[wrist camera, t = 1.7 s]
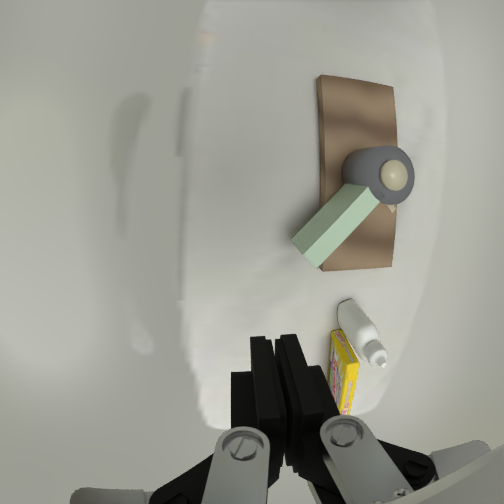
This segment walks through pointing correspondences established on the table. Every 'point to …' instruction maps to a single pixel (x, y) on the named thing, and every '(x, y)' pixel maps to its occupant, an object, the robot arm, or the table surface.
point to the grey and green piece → (356, 199)
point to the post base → (336, 151)
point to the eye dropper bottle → (361, 333)
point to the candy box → (342, 371)
